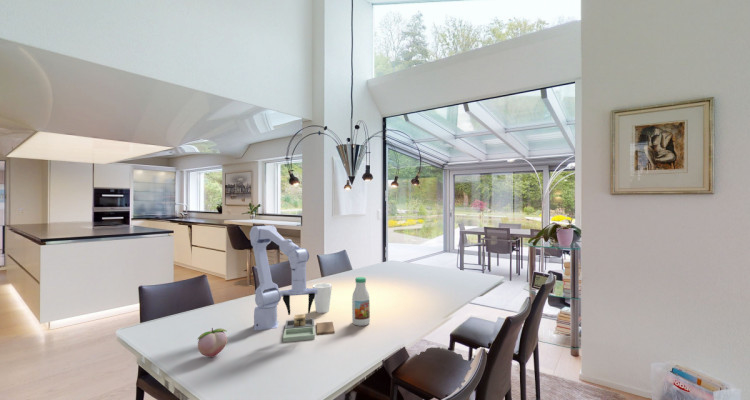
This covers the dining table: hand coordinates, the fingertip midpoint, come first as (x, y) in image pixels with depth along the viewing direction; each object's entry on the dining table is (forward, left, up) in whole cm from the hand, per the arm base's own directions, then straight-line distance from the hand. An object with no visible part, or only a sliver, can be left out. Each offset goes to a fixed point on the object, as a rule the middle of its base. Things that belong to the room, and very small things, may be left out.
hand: (299, 313), depth 127 cm
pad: (+10, +5, -9) cm, 15 cm away
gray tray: (0, +10, -9) cm, 14 cm away
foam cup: (+10, +29, -10) cm, 32 cm away
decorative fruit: (-30, -10, -10) cm, 33 cm away
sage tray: (0, 0, -9) cm, 9 cm away
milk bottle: (+26, +9, -10) cm, 30 cm away
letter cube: (0, +10, -9) cm, 13 cm away
